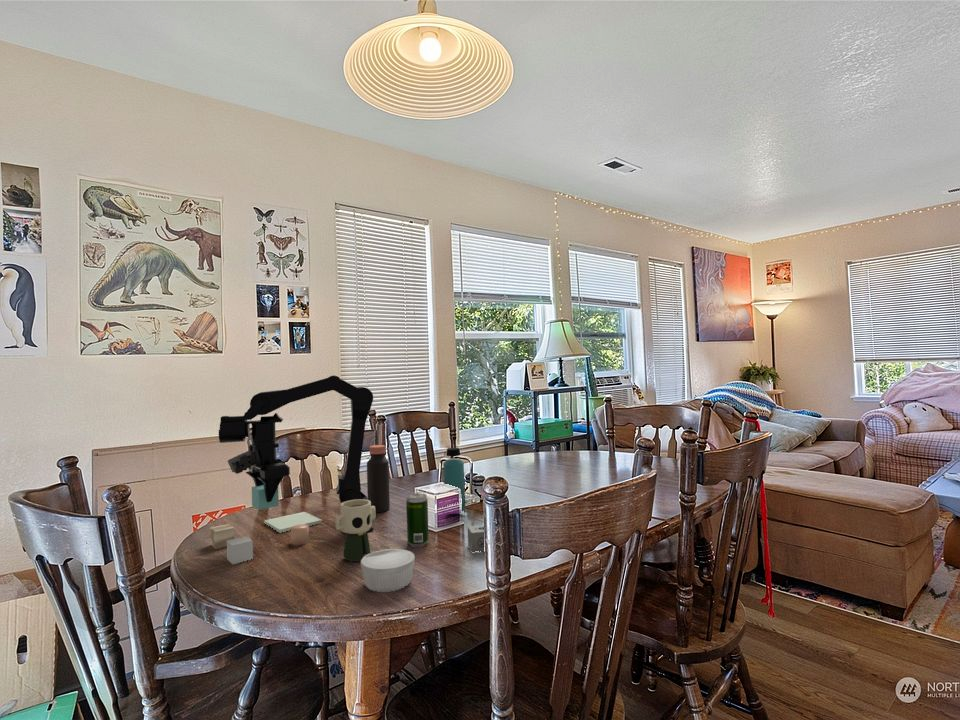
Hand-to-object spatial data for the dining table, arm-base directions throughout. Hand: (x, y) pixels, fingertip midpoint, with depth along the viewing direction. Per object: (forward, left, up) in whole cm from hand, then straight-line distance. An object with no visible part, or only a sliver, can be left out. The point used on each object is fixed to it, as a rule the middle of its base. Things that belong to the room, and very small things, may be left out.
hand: (265, 500), depth 132 cm
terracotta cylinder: (-7, -6, -11) cm, 14 cm away
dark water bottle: (+4, -36, -11) cm, 38 cm away
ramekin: (-45, -9, -11) cm, 47 cm away
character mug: (-28, -11, -11) cm, 32 cm away
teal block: (0, 0, -2) cm, 2 cm away
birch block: (+6, +9, -11) cm, 15 cm away
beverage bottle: (-18, -49, -11) cm, 54 cm away
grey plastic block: (-8, +9, -11) cm, 16 cm away
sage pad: (+10, -11, -11) cm, 19 cm away
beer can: (-30, -27, -11) cm, 42 cm away
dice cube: (-44, -35, -11) cm, 58 cm away
